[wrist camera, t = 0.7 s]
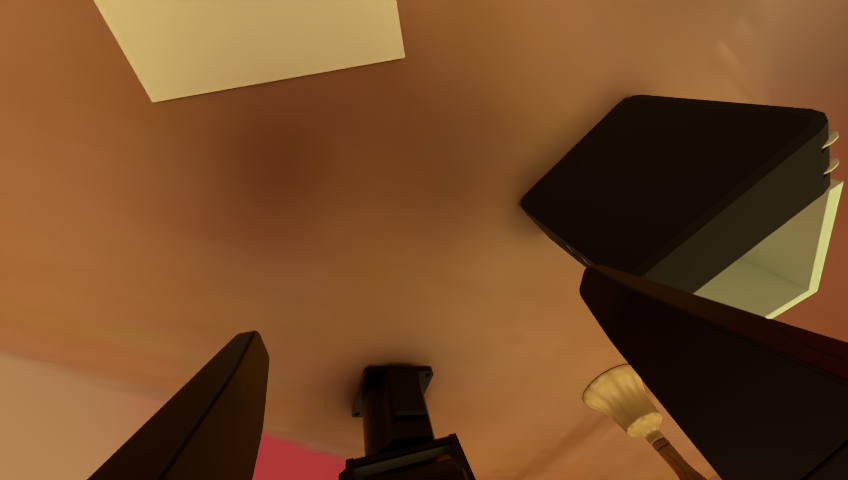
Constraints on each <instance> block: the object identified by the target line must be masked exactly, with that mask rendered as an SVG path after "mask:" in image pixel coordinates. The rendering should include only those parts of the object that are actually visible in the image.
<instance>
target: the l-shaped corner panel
mask: <svg viewBox="0 0 848 480" xmlns="http://www.w3.org/2000/svg"><path fill="white" fill-rule="evenodd" d="M830 183H831V185H830V186H829V188H828V189H827V190H826V192H825V193H824V194H823V195H822V196H820V197H819V198H818V199H816V200H815V201H814V202H813V203H811V204H810V205H809V206H807V207H806V208H805V209H803V210H802V211H801V212H799V213H798V214H797V215H796V216H794V217H793V218H792V219H790V220H789V221H788V222H786V223H785V224H784V225H782V226H781V227H780V228H778V229H777V230H776V231H775V232H773V233H772V234H771V235H769V236H768V237H767V238H765V239H764V240H763V241H761V242H760V243H759V244H758V245H756V246H755V247H754V248H752V249H751V250H750V251H748V252H747V253H746V254H744V255H743V256H742V257H741V258H739V259H738V260H737V261H735V262H734V263H733V264H731V265H730V266H729V267H727V268H726V269H725V270H724V271H722V272H721V273H720V274H718V275H717V276H716V277H714V278H713V279H712V280H710V281H709V282H708V283H707V284H705V285H704V286H703V287H701V288H700V289H699V290H697V291H696V292H695V293H693V294H695V295H698V296H701V297H704V298H707V299H710V300H713V301H716V302H720V303H723V304H726V305H729V306H732V307H735V308H738V309H741V310H745V311H748V312H751V313H754V314H757V315H760V316H763V317H766V318H767V319H772V318H774V317H775V316H777V315H779V314H780V313H782V312H784V311H785V310H787V309H789V308H790V307H792V306H793V305H795V304H797V303H798V302H800V301H802V300H803V299H805V298H807V297H808V296H810V295H812V294H813V293H815V292H817V290H818V286H819V282H820V277H821V273H822V269H823V265H824V261H825V257H826V252H827V248H828V244H829V240H830V236H831V232H832V227H833V223H834V219H835V215H836V210H837V206H838V202H839V198H840V194H841V190H842V186H843V181H838V180H834V179H830Z"/></svg>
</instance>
